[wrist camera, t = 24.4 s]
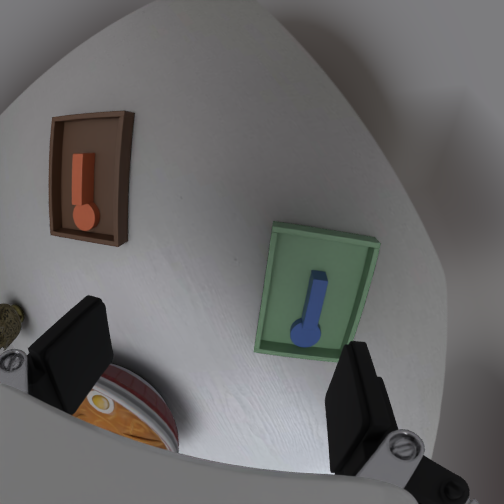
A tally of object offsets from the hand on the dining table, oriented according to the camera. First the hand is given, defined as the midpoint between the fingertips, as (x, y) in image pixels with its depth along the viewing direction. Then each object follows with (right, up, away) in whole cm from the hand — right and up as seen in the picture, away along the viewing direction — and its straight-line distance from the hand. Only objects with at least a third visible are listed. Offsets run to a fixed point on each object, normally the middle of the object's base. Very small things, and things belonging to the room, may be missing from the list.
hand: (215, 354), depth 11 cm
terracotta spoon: (-18, +11, +22) cm, 31 cm away
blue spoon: (+8, -2, +23) cm, 25 cm away
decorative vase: (-41, -7, +31) cm, 52 cm away
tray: (-18, +13, +22) cm, 31 cm away
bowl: (-19, -20, +33) cm, 43 cm away
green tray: (+8, -1, +23) cm, 24 cm away
